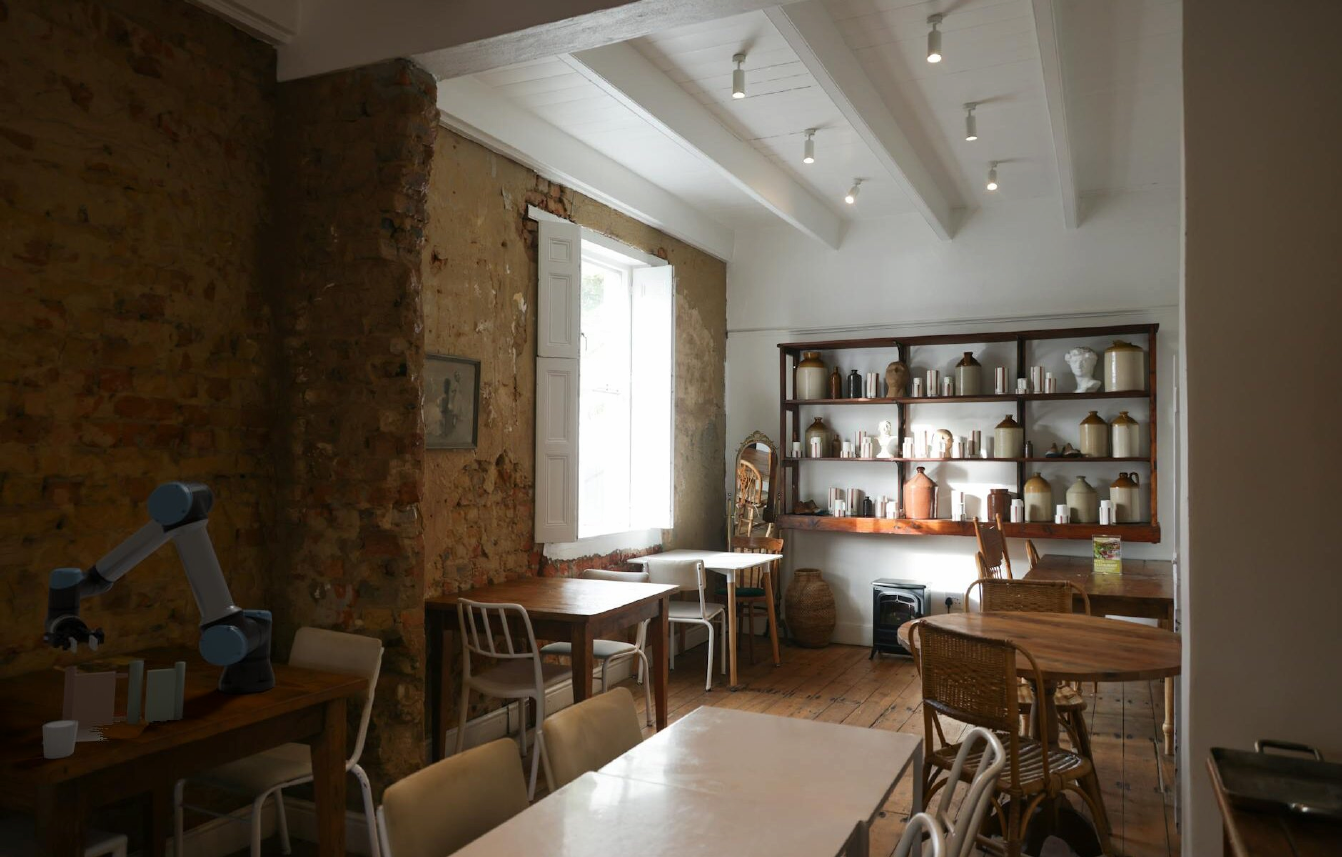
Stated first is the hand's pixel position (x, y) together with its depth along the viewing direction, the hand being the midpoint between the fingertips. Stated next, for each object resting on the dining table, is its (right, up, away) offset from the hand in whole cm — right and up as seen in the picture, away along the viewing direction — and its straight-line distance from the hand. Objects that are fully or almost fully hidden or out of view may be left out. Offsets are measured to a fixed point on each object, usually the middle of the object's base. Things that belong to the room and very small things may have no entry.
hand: (85, 646), depth 224 cm
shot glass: (+8, -20, -21) cm, 30 cm away
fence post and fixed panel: (+15, -21, +4) cm, 26 cm away
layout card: (+7, -20, -4) cm, 22 cm away
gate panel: (+4, -19, -2) cm, 20 cm away
